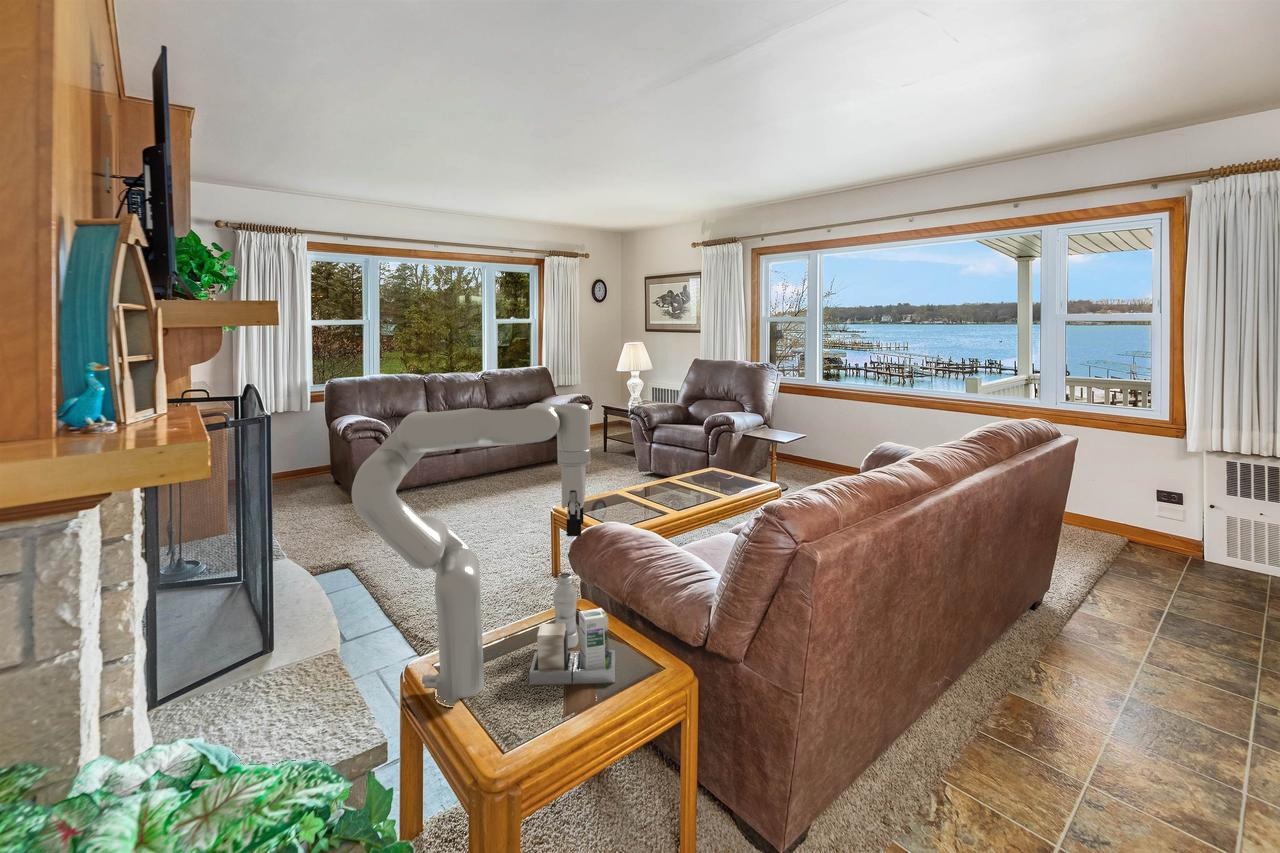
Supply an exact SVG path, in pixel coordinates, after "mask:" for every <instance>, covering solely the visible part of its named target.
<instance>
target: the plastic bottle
mask: <svg viewBox="0 0 1280 853" xmlns="http://www.w3.org/2000/svg"><path fill="white" fill-rule="evenodd" d="M572 583H573V578H572V574H571V573H569V572H562V573H559V574H558V575H557V586H556V587H555V590H554V591H553V595H552V602H553V605H554V614H555V617H554V618H555V624H564V623H565V625H566V630H568V650H570V649H572V648H575V647H576V646H578V644H579V640H580V637H579V634H578V632H579V631H578V630H577V620H576V616H577V615H576V613H577V602H578V592H577V590H576V588H575V586H573V584H572Z"/></svg>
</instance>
